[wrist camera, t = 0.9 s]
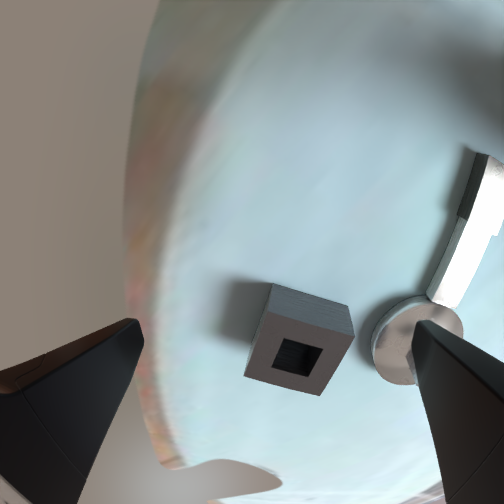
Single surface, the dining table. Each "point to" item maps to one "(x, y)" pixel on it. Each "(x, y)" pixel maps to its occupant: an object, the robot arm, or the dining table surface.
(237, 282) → the dining table surface
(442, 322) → the ratchet
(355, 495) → the dining table surface
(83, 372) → the robot arm
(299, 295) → the socket
